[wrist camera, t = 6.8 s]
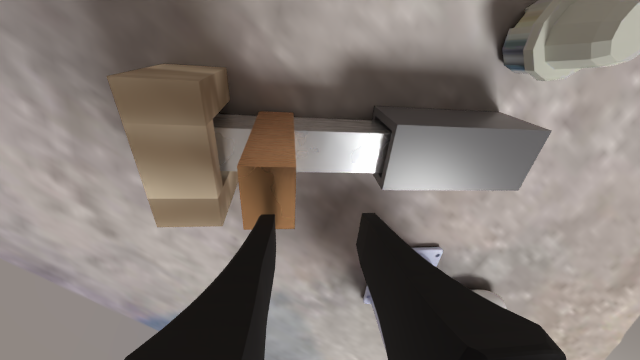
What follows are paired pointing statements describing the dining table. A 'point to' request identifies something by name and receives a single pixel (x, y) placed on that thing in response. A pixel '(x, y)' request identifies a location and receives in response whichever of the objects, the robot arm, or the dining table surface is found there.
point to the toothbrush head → (572, 37)
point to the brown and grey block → (292, 156)
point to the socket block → (177, 140)
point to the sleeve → (457, 149)
